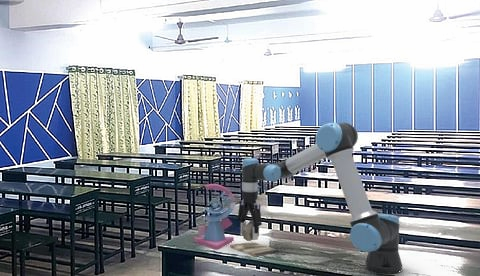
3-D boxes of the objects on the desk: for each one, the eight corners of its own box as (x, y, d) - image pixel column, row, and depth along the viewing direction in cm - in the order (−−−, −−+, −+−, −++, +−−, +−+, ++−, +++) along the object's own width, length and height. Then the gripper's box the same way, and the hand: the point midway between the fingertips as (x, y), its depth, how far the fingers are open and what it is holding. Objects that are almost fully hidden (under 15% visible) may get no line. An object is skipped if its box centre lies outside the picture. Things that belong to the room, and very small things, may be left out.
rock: (248, 232, 252) (248, 214, 248) (260, 235, 249) (261, 218, 245) (237, 244, 242) (237, 226, 238) (249, 248, 239) (250, 230, 235)
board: (278, 252, 237) (278, 250, 237) (255, 256, 230) (255, 254, 229) (252, 243, 254) (252, 241, 254) (229, 247, 246) (230, 244, 246)
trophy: (233, 240, 259) (234, 182, 257) (237, 249, 242) (238, 186, 241) (193, 241, 256) (194, 182, 255) (195, 250, 239) (196, 187, 238)
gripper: (270, 193, 236) (269, 241, 237) (242, 187, 253) (242, 232, 254) (257, 194, 232) (256, 243, 233) (230, 188, 249) (229, 234, 250)
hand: (249, 237), depth 243 cm, fingers closed on rock, 9 cm apart
